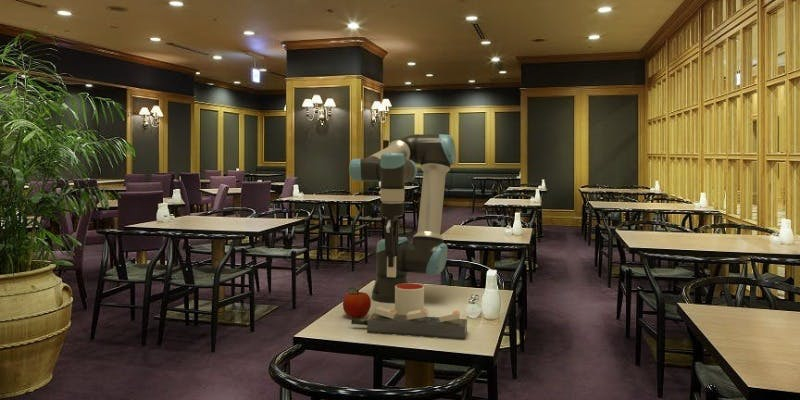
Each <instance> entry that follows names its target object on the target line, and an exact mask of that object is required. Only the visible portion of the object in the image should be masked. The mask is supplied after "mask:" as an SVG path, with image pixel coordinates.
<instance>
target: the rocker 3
mask: <svg viewBox="0 0 800 400" xmlns="http://www.w3.org/2000/svg"><path fill="white" fill-rule="evenodd" d="M438 317H439V320H440V322H444V321H449V320H455V319H461V312H460V310H453V311H450V312H443V313H439V316H438Z"/></svg>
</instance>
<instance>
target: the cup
mask: <svg viewBox="0 0 800 400" xmlns="http://www.w3.org/2000/svg"><path fill="white" fill-rule="evenodd" d="M421 309H425V286H424V285H423V284H419V283H411V282H410V283H409V282H408V283H404V284H398V285H396V286H395V302H394V310H395V311H397V313H396V315H407V314H408V312H411V311H416V310H421Z"/></svg>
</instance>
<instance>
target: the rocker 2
mask: <svg viewBox="0 0 800 400" xmlns="http://www.w3.org/2000/svg"><path fill="white" fill-rule="evenodd" d="M428 315H429V311H428V308H424V309H421V310H416V311H411V312H408V314H407V319H408V320H410V319H416V318H421V317H428Z"/></svg>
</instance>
